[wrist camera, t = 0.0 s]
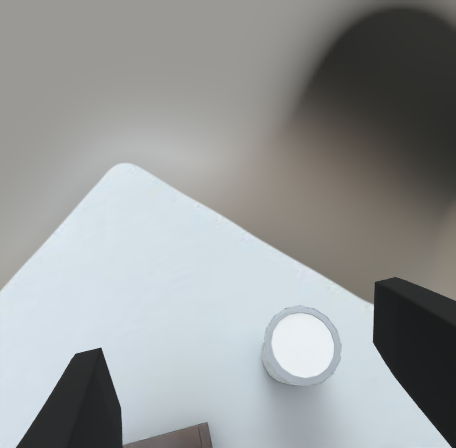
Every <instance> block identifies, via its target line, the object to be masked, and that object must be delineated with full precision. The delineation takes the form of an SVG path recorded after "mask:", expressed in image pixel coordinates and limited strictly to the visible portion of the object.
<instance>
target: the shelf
mask: <svg viewBox="0 0 456 448" xmlns="http://www.w3.org/2000/svg"><path fill="white" fill-rule="evenodd" d="M123 448H212V443H211V438H210V433H209V428H208V423H207V422H206V423H202V424H198V425H195V426H191V427H188V428H184V429H180V430H177V431H173V432H169V433H166V434H162V435H159V436H155V437H151V438H148V439H144V440H140V441H137V442H133V443H130V444H126V445H123Z"/></svg>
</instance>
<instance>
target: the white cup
mask: <svg viewBox="0 0 456 448" xmlns="http://www.w3.org/2000/svg"><path fill="white" fill-rule="evenodd" d="M341 345H342V344H341V341H340V338H339V335H338V331H337V329H336V327H335V326H334V325H333V324H332V322H331V321H330V320H329V318H328V317H327V316H325V315H324V314H322V313H321V312H319V311H318V310H316V309H315V308H310V307H305V306H294V307H289V308H285V309H284V310H282V311H281V312H279V313H278V314H276V315H275V316H274V317H273V319H272V320H271V322H270V323H269V325H268V327H267V328H266V333H265V338H264V343H263V349H262V359H263V364H264V367H265V368H266V370H267V371H268V373H269V374H270V376H272V377H273V378H274V379H276V380H277V381H279V382H281V383H285V384H290V385H299V386H309V385H314V384H319V383H322V382H323V381H324V380H326V379H327V378H328V377H330V376H331V375H332V374H333V373H334V371H335V370H336V368H337V366H338V364H339V362H340V359H341Z"/></svg>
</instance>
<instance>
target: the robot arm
mask: <svg viewBox="0 0 456 448" xmlns="http://www.w3.org/2000/svg"><path fill="white" fill-rule="evenodd" d="M373 343H374V345H375V347H376V348H377V350H378V352H379V353H380V355H381V357H382V358H383V360H384V362H385V363H386V365H387V366H388V368H389V369H390V371H391V372H392V374H393V375H394V377H395V378H396V379H397V381H398V382H399V383H400V384H401V386H402V387H403V388H404V389H405V391H406V392H407V393H408V394H409V396H410V397H411V398H412V399H413V401H414V402H415V403H416V404H417V405H418V407H419V408H420V409H421V410H422V412H423V413H424V414H425V415H426V416H427V418H428V419H429V420H430V421H431V423H432V424H433V425H434V426H435V427H436V429H437V430H438V431H439V432H440V434H441V435H442V436H443V437H444V438H445V440H446V441H447V442H448V443H449V445H450V446H451V447H452V448H456V301H454V300H452V299H449V298H447V297H445V296H443V295H440V294H438V293H435V292H433V291H431V290H428V289H426V288H423V287H421V286H418V285H416V284H413V283H411V282H408V281H406V280H403V279H400V278H397V277H394V278H390V279H386V280H381V281H377V282H375V293H374V326H373ZM16 448H123V445H122V418H121V407H120V404H119V401H118V398H117V395H116V391H115V388H114V385H113V382H112V379H111V376H110V373H109V370H108V367H107V364H106V361H105V358H104V355H103V351H102V348H98V349H93V350H89V351H85V352H81V353H77V354H75V355H74V357H73V358H72V360H71V361H70V363H69V364H68V366H67V368H66V369H65V371H64V373H63V375H62V376H61V378H60V380H59V381H58V383H57V385H56V386H55V388H54V390H53V391H52V393H51V394H50V396H49V398H48V399H47V401H46V403H45V404H44V406H43V407H42V409H41V411H40V412H39V414H38V415H37V417H36V418H35V420H34V421H33V423H32V425H31V426H30V428H29V429H28V431H27V432H26V434H25V435H24V437H23V438H22V440H21V441H20V443H19V444H18V445H17V447H16Z"/></svg>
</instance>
